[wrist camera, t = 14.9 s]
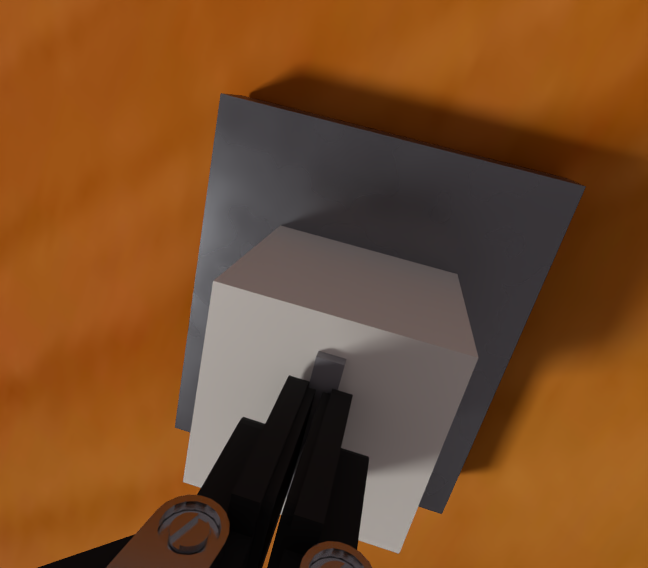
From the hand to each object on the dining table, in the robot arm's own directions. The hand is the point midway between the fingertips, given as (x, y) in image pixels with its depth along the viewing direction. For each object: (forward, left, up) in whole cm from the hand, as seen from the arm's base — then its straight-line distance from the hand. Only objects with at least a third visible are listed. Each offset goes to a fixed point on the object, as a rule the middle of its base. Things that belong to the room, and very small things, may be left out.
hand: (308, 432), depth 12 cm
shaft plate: (0, 0, -8) cm, 8 cm away
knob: (0, 0, -6) cm, 6 cm away
